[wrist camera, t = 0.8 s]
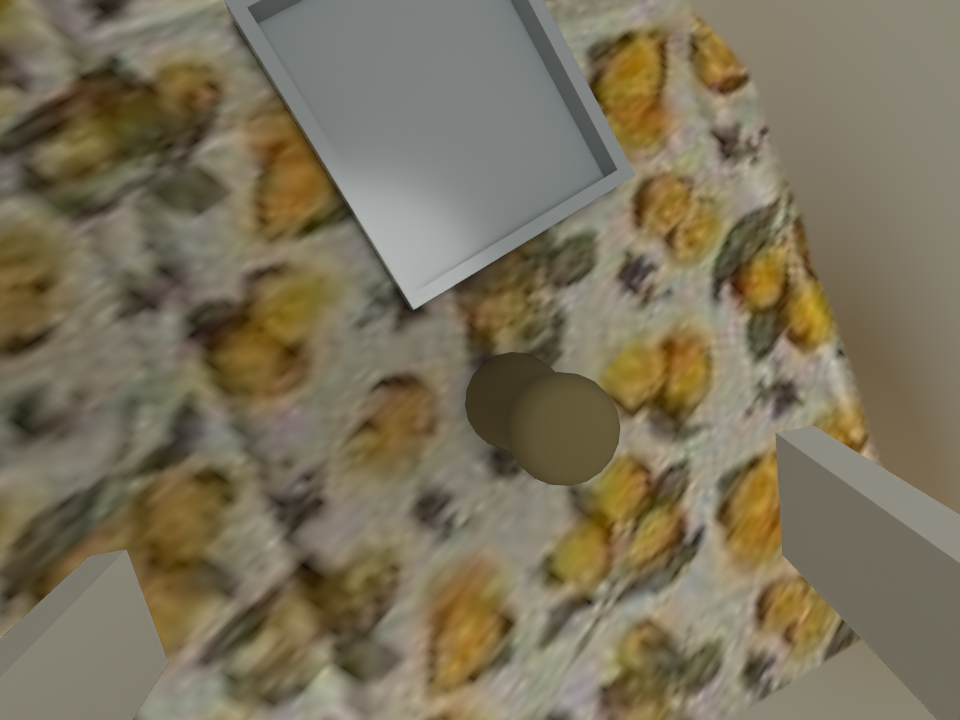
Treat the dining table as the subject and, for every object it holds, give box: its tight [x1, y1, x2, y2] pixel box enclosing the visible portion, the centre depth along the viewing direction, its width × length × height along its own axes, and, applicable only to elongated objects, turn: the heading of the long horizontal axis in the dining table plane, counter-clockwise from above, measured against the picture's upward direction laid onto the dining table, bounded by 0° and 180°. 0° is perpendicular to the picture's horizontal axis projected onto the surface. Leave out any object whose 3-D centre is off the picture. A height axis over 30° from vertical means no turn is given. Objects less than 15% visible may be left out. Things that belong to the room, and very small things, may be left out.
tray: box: [224, 0, 635, 310], centre depth 33 cm, size 18×15×2 cm
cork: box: [465, 352, 620, 486], centre depth 31 cm, size 6×6×11 cm
